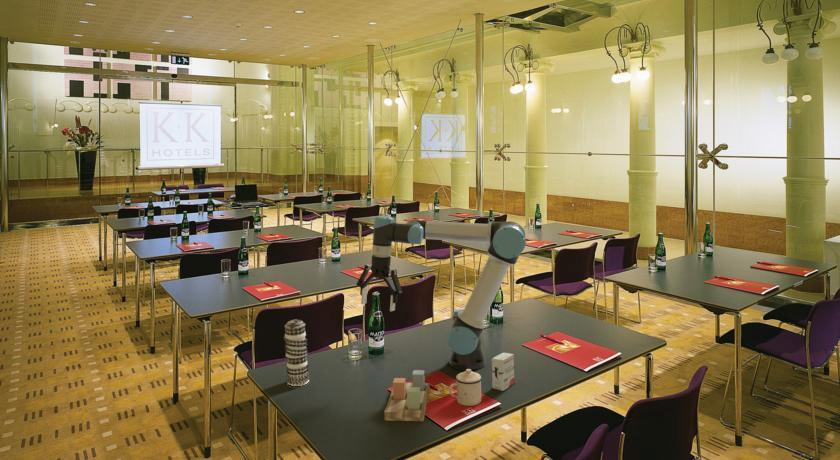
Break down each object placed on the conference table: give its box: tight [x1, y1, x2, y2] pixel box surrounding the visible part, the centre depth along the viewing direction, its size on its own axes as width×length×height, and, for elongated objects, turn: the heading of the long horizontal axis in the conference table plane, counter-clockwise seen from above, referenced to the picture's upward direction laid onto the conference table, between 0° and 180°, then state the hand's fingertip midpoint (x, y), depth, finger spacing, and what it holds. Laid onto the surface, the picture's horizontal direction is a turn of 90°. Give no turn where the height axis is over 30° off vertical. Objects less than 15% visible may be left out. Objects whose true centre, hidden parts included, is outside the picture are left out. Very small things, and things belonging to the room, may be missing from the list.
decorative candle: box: [283, 318, 310, 387], centre depth 219 cm, size 9×9×25 cm
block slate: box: [411, 369, 426, 391], centre depth 204 cm, size 4×4×6 cm
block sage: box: [407, 387, 421, 410], centre depth 190 cm, size 4×4×6 cm
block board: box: [383, 382, 431, 422], centre depth 198 cm, size 13×24×3 cm, turn 174°
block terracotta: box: [392, 377, 407, 400], centre depth 198 cm, size 4×4×6 cm
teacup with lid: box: [448, 369, 483, 407], centre depth 199 cm, size 12×9×12 cm
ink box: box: [491, 352, 515, 392], centre depth 211 cm, size 8×5×12 cm, turn 140°
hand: (377, 307), depth 224 cm, fingers open, 13 cm apart
